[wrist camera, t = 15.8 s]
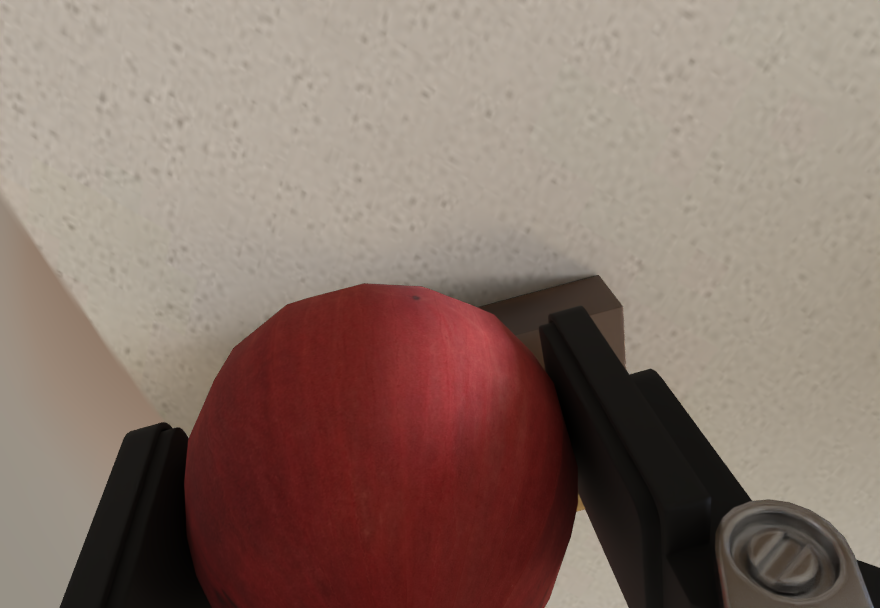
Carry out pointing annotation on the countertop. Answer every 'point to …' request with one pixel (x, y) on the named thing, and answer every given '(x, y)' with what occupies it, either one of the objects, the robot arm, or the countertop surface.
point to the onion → (380, 461)
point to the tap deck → (535, 308)
